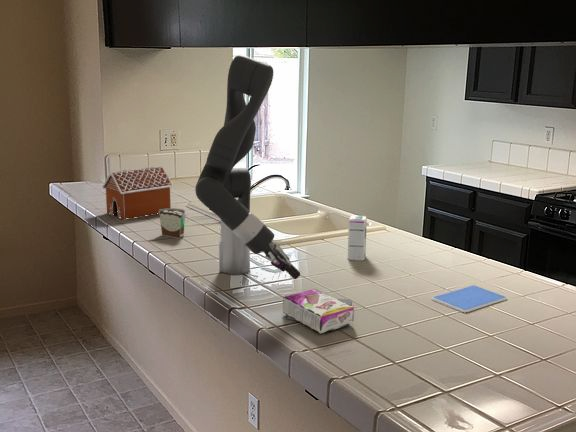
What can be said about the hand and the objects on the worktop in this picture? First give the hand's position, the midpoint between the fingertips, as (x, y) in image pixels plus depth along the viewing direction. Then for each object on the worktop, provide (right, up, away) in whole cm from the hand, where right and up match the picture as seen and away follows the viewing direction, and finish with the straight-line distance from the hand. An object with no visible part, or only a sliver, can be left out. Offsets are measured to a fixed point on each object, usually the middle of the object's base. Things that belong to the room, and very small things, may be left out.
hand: (297, 276), depth 171 cm
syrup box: (+21, +2, +46) cm, 51 cm away
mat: (+6, -9, 0) cm, 11 cm away
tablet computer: (+50, -8, +10) cm, 51 cm away
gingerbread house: (-68, +18, +105) cm, 127 cm away
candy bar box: (0, -6, -1) cm, 6 cm away
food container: (-46, +9, +71) cm, 85 cm away
